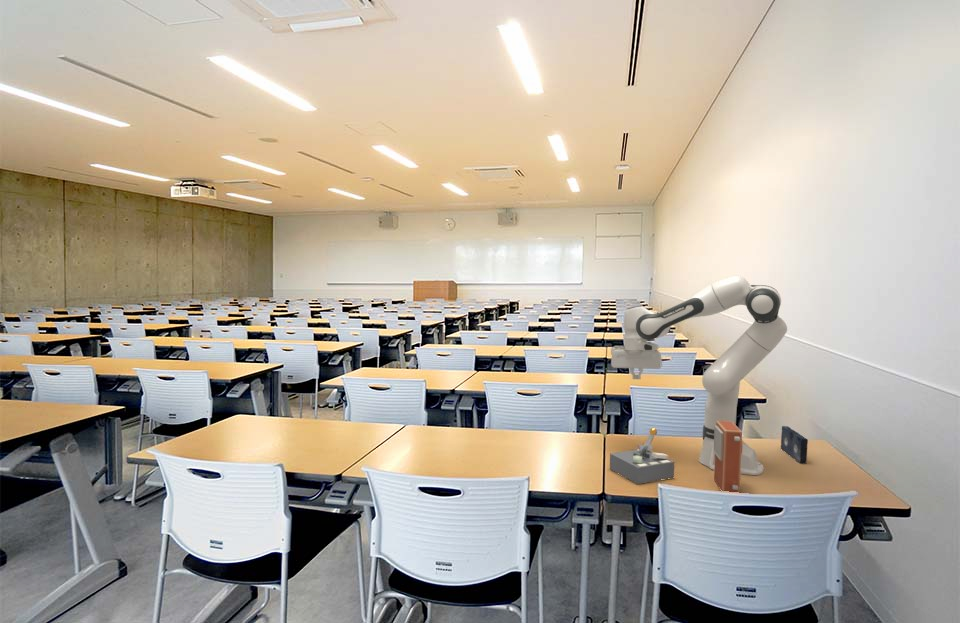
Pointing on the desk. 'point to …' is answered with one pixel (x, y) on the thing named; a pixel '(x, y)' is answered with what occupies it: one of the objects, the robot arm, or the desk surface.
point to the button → (637, 459)
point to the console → (641, 466)
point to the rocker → (660, 455)
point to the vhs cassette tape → (794, 444)
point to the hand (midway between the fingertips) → (636, 379)
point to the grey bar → (642, 447)
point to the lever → (648, 441)
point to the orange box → (727, 455)
